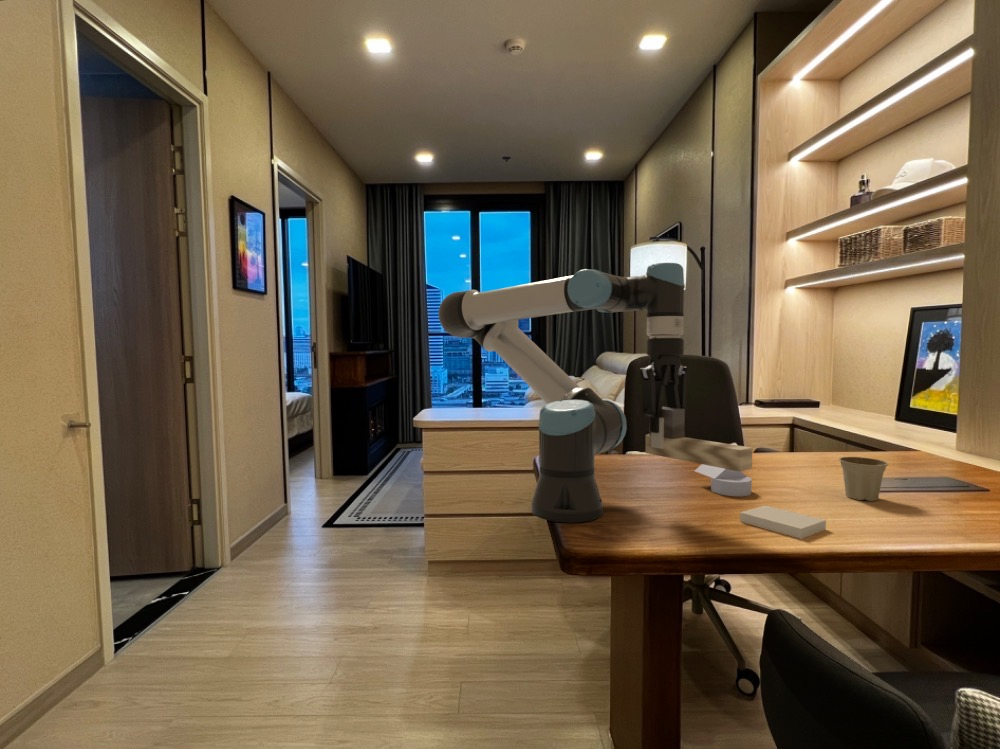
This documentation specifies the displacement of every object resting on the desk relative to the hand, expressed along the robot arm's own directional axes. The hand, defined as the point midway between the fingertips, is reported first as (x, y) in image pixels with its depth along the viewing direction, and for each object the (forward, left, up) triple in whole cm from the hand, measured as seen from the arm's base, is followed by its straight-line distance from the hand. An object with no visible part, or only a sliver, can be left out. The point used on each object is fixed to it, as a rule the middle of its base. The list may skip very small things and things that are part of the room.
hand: (664, 446), depth 115 cm
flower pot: (+44, -21, -14) cm, 51 cm away
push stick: (0, -7, -2) cm, 8 cm away
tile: (+10, -14, -13) cm, 22 cm away
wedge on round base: (+26, +2, -14) cm, 30 cm away
